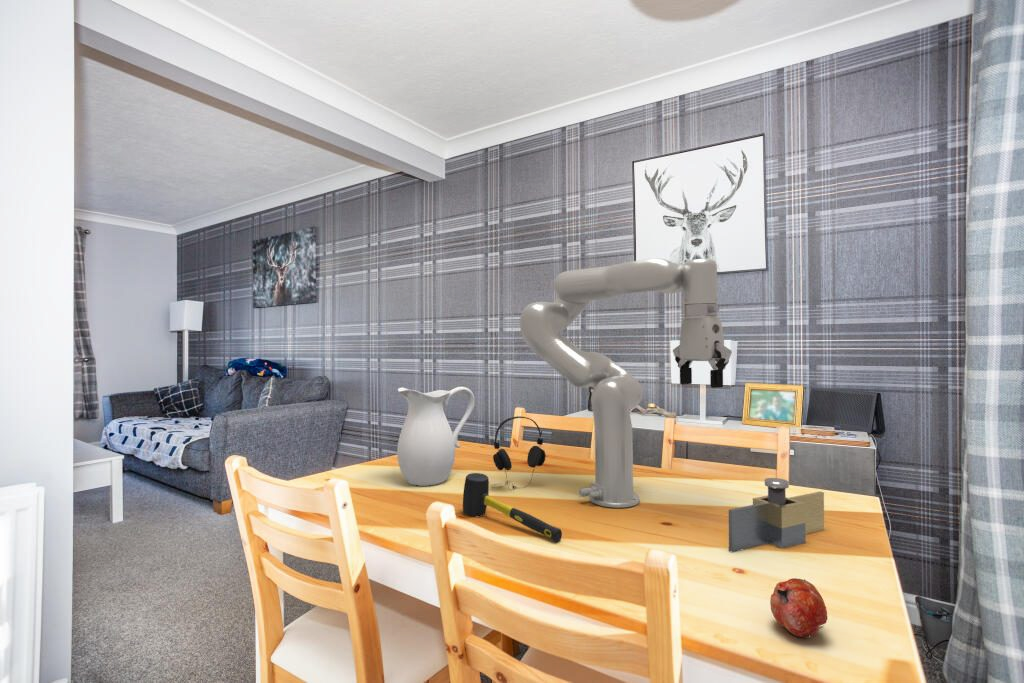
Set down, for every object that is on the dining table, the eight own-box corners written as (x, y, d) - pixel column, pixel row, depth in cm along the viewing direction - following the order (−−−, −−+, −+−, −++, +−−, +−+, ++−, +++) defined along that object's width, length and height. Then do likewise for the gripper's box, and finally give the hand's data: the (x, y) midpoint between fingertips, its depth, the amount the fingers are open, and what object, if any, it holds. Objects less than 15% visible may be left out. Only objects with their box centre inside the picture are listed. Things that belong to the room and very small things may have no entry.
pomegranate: (793, 628, 78) (744, 592, 77) (824, 591, 77) (775, 554, 76) (825, 664, 70) (771, 625, 69) (860, 623, 70) (806, 583, 69)
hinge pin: (779, 544, 103) (778, 484, 103) (760, 537, 107) (759, 479, 107) (794, 541, 105) (793, 482, 105) (775, 533, 109) (774, 476, 109)
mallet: (569, 539, 108) (568, 493, 108) (550, 547, 104) (550, 500, 104) (476, 508, 128) (476, 470, 128) (457, 514, 124) (457, 474, 124)
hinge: (744, 558, 97) (744, 515, 97) (717, 545, 103) (716, 505, 103) (837, 534, 108) (837, 496, 108) (807, 523, 114) (807, 487, 114)
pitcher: (404, 492, 142) (402, 391, 142) (392, 477, 158) (391, 386, 157) (485, 481, 152) (484, 387, 152) (467, 468, 167) (466, 382, 167)
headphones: (533, 478, 154) (532, 411, 154) (549, 488, 144) (548, 416, 144) (485, 484, 149) (484, 414, 149) (497, 494, 139) (497, 420, 138)
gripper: (741, 310, 114) (742, 388, 114) (685, 314, 130) (686, 382, 130) (716, 310, 111) (717, 389, 111) (662, 314, 127) (663, 383, 127)
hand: (700, 385), depth 121 cm, fingers open, 9 cm apart
